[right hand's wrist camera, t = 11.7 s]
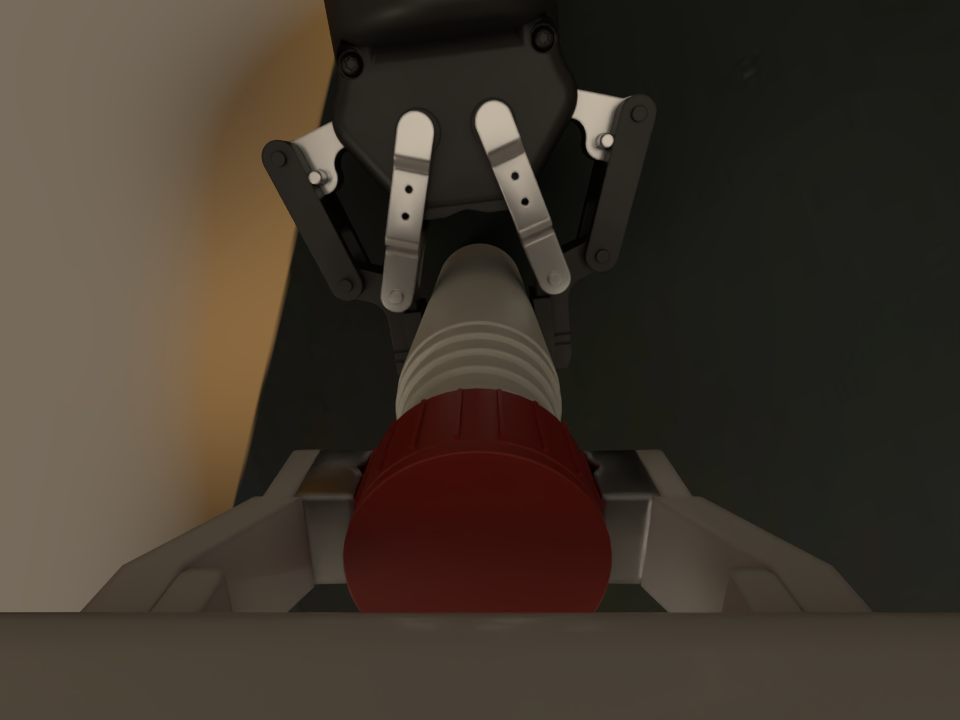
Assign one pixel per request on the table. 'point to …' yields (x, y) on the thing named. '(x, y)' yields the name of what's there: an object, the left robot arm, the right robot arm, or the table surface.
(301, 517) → the right robot arm
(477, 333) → the bottle
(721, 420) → the table surface
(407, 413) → the cap
